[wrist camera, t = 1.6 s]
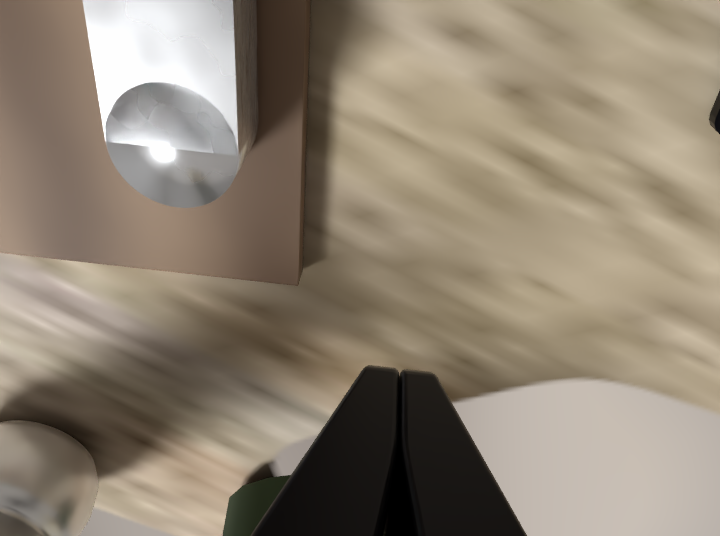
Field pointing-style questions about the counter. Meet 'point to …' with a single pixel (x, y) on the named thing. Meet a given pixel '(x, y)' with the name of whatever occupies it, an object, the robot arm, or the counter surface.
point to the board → (110, 190)
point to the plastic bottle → (44, 481)
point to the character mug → (251, 505)
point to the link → (176, 92)
